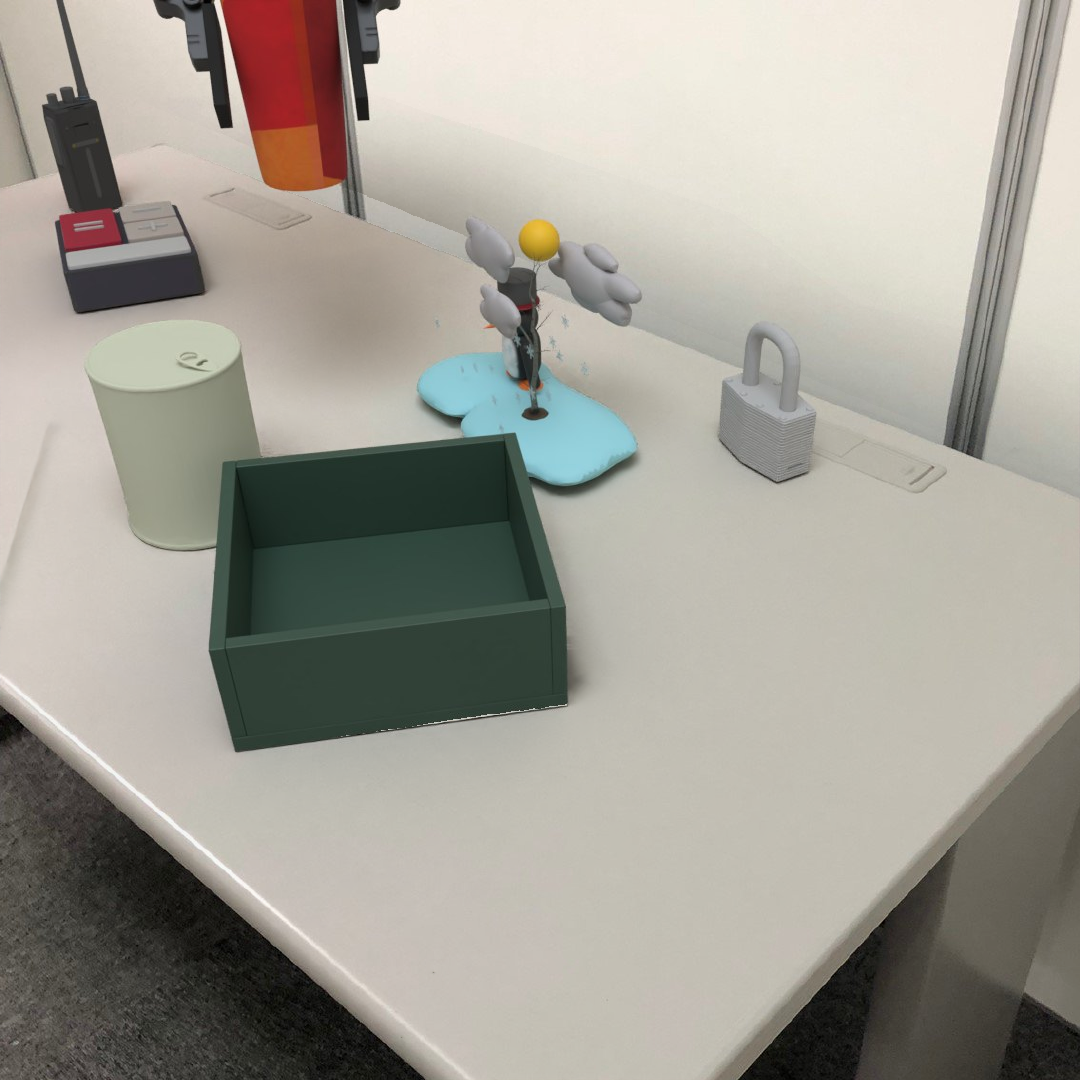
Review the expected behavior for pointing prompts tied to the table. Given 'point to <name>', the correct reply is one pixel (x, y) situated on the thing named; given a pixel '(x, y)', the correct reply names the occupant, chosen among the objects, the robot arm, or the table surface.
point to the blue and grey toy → (535, 358)
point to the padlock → (768, 410)
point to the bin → (382, 591)
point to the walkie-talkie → (80, 140)
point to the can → (173, 424)
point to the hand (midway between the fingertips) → (293, 112)
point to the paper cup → (291, 89)
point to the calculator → (127, 256)
